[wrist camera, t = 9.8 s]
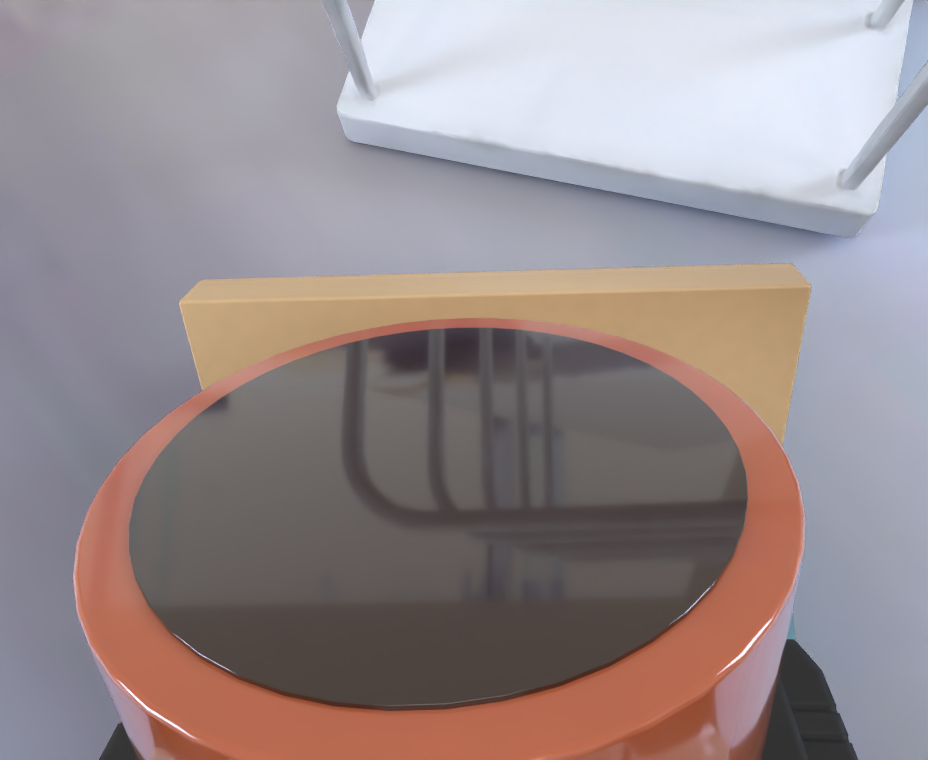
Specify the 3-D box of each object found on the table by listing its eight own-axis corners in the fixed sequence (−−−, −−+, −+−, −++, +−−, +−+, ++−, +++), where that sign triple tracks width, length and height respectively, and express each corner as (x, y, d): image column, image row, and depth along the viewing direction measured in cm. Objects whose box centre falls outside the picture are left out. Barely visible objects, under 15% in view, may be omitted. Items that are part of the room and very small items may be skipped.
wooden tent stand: (725, 714, 20) (878, 817, 11) (295, 703, 21) (118, 788, 12) (699, 378, 23) (807, 241, 14) (316, 384, 24) (182, 260, 15)
